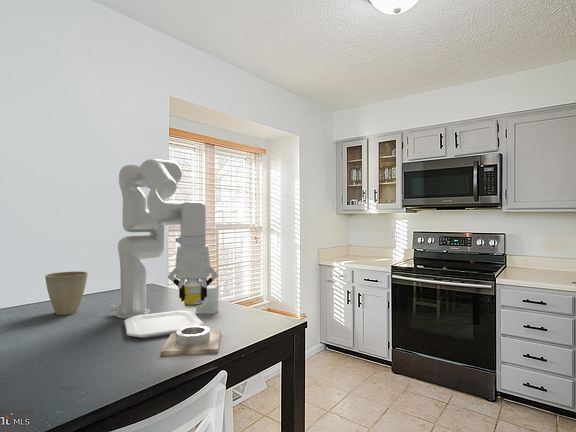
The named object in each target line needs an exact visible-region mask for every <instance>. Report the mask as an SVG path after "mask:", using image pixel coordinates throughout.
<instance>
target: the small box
mask: <svg viewBox="0 0 576 432" xmlns="http://www.w3.org/2000/svg"><path fill="white" fill-rule="evenodd" d="M218 311H219V285H208V286H207V297H205V300H204V301H202V306H200V307H197V308H195V315H196V314H199V315H201V314H202V315H205V314H206V315H215V314H216V313H217V312H218Z"/></svg>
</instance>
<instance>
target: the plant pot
mask: <svg viewBox="0 0 576 432" xmlns="http://www.w3.org/2000/svg"><path fill="white" fill-rule="evenodd" d="M88 273H89V272H87V271H81V270H80V271H61V272H52V273H48V274H45V276H44V277H45V285H46V289H47V293H48V297H49V300H50V304H51V306H52V308H53V311H54V313H55V314H56V315H58V316H65V315H73V314H76V313H77V312H78V310H79V307H80V306H81V302H82V299H83V296H84V293H85V290H86V289H85V288H86V285H87V280H88Z"/></svg>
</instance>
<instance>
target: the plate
mask: <svg viewBox="0 0 576 432" xmlns="http://www.w3.org/2000/svg"><path fill="white" fill-rule="evenodd" d="M123 322H124V326H125V330H126V331H125V332H126V336H130V337H134V338H141V339H149V338H155V337H164V336H170V335H171V333H176V332H177V330H178V329H181V328H183V327H188V326H204V322H203V321H202V320H201V318H199V317H198V316H197V315H196V313H194V312H193V311H191V310H171V311H163V312H156V313H150V314H145V315H137V316H133V317H130V318H128V319H124V321H123Z"/></svg>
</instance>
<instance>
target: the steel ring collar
mask: <svg viewBox="0 0 576 432" xmlns="http://www.w3.org/2000/svg"><path fill="white" fill-rule="evenodd" d="M210 331H211V328H210V327H208V326H206V325H205V326H204V325H201V326H188V327H183V328H181V329H178V330H177V332H176V343H177V344H178V345H180V346H198V345H202V344H205V343H207V342H209V341H210Z"/></svg>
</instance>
